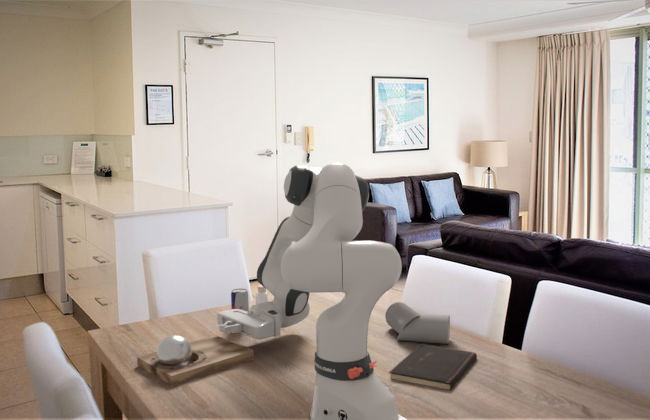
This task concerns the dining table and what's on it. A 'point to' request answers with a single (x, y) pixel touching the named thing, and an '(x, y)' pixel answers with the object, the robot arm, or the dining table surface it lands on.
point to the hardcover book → (434, 366)
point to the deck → (198, 360)
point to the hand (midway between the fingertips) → (222, 329)
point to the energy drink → (240, 299)
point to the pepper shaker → (261, 295)
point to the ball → (174, 351)
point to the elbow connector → (418, 324)
